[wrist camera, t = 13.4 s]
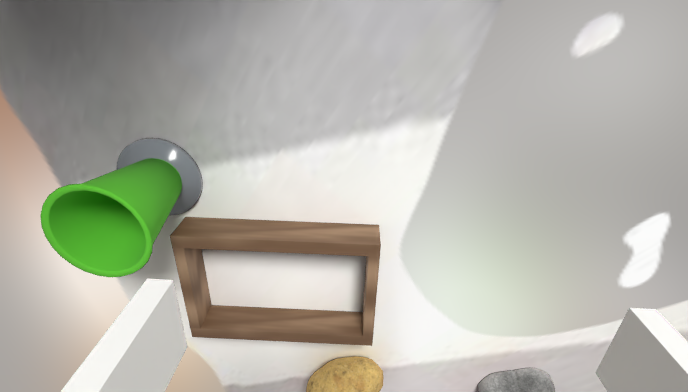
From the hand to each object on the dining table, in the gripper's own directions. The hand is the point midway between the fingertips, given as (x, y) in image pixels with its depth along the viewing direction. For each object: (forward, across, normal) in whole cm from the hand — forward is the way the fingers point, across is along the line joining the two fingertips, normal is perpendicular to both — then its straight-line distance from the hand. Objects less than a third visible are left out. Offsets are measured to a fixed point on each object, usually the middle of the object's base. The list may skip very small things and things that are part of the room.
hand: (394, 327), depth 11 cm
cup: (+28, -22, -10) cm, 37 cm away
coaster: (+29, -22, -10) cm, 38 cm away
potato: (+29, -1, -38) cm, 48 cm away
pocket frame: (+29, -9, -22) cm, 37 cm away
